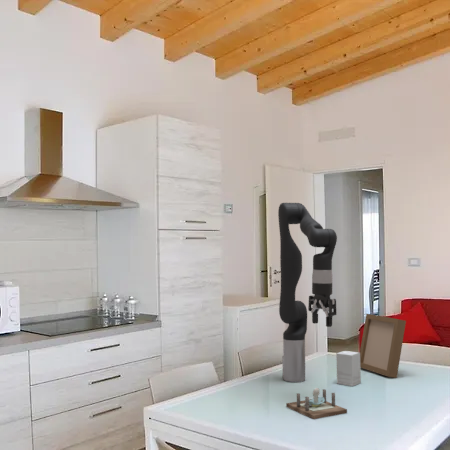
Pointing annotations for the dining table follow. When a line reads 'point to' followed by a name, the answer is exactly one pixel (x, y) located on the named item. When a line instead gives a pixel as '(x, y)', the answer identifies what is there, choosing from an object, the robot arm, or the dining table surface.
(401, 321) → the photo frame
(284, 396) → the dining table surface
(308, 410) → the pin tray
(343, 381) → the supplement box
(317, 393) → the pacifier
